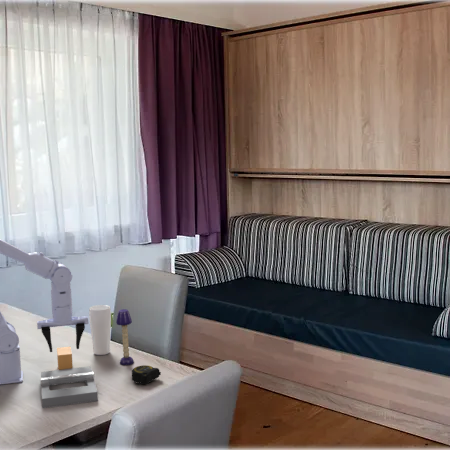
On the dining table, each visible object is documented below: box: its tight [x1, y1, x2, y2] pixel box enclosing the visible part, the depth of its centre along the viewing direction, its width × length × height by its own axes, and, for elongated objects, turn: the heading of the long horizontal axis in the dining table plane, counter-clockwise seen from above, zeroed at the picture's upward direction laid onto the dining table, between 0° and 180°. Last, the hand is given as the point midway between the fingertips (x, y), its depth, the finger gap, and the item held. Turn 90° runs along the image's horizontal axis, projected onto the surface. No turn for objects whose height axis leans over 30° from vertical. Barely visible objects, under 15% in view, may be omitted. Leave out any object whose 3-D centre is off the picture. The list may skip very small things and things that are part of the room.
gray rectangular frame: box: [40, 365, 99, 409], centre depth 175 cm, size 14×20×2 cm
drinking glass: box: [88, 304, 112, 356], centre depth 204 cm, size 7×7×15 cm
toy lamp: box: [116, 308, 135, 366], centre depth 195 cm, size 5×5×17 cm
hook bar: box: [40, 371, 95, 386], centre depth 175 cm, size 14×2×2 cm, turn 107°
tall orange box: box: [56, 346, 74, 370], centre depth 190 cm, size 4×7×6 cm, turn 17°
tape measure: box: [131, 364, 162, 385], centre depth 181 cm, size 7×7×4 cm
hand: (64, 349), depth 190 cm, fingers open, 7 cm apart
